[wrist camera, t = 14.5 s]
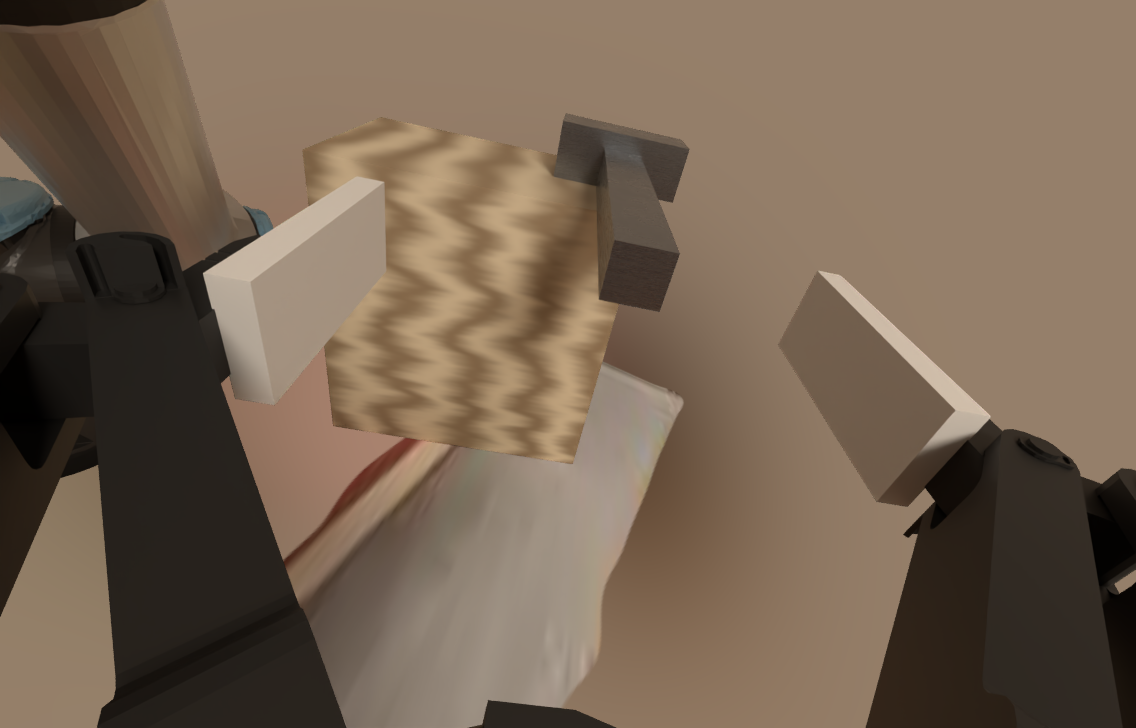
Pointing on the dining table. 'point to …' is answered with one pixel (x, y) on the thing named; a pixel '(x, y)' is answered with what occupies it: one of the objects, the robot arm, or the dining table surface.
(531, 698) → the dining table surface
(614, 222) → the t handle
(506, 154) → the zigzag patterned box
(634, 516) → the dining table surface
